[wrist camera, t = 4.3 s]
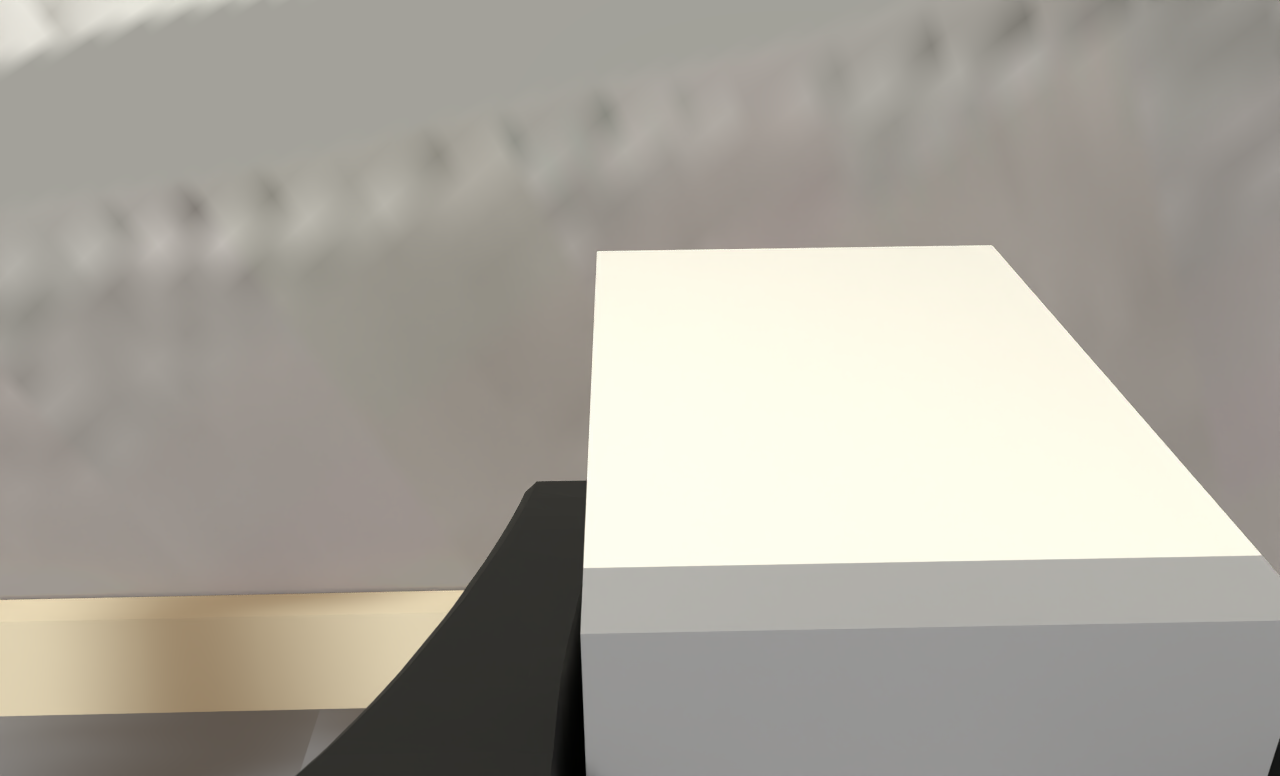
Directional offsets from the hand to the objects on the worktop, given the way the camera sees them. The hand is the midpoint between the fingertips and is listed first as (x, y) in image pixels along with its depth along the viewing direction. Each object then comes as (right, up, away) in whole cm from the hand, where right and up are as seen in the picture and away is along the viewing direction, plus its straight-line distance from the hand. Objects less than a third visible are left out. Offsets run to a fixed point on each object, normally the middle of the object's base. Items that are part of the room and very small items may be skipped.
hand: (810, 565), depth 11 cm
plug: (0, +1, +2) cm, 2 cm away
